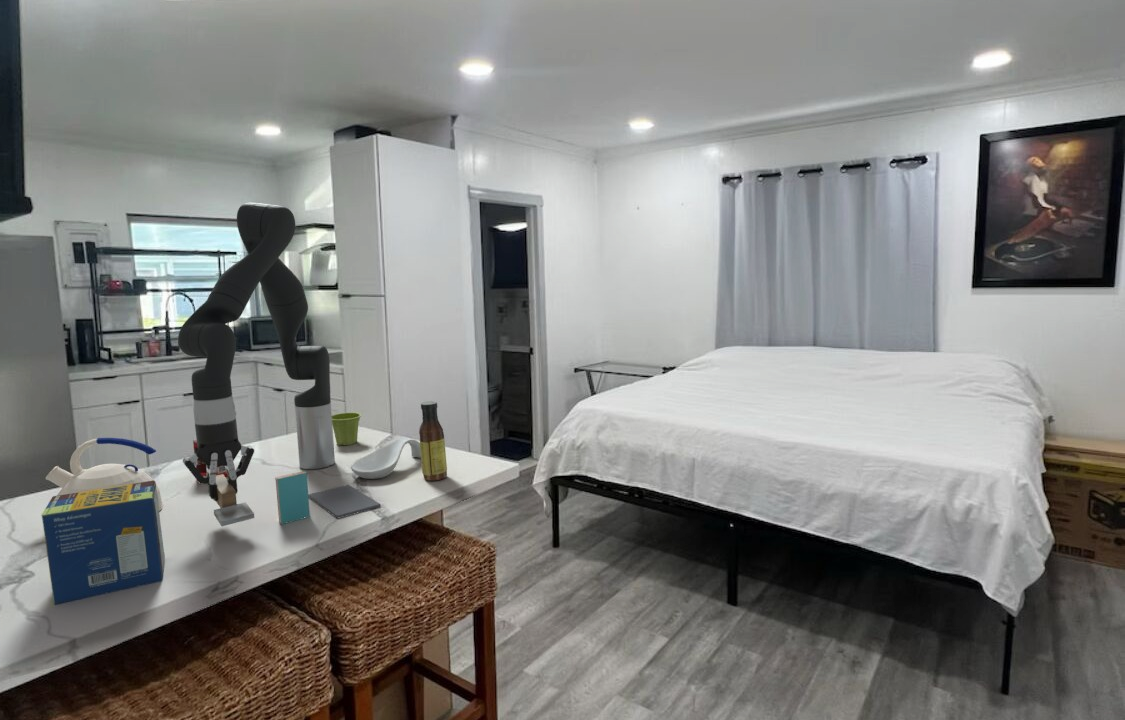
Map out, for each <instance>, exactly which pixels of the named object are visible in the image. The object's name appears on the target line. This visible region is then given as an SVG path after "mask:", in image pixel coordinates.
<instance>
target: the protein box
mask: <svg viewBox="0 0 1125 720" xmlns="http://www.w3.org/2000/svg"><path fill="white" fill-rule="evenodd" d="M156 485H157V483H156V481H155V480H154V479H153V481H147V482H141V483H135V484H128V485H122V486H116V487H110V488H103V489H96V490H90V491H84V492H78V493H72V494H65V495H58V494H57V495H58V496H57V495H54V496H53V495H52V497H51V498H50V500H49V502H48V504H47V505H46V507H45V509H44V510H43V512H42V513H41V516H40V517H41V520H42V528H43V533H44V540H45V547H46V548H45V549H46V554H47V563H48V569H49V570H48V571H49V578H50V584H51V586H50V587H51V592H52V599H53V604H54V605H59V604H63V603H68V602H72V601H78V600H81V599H86V598H92V597H96V596H100V595H104V594H105V595H106V594H109V593H113V592H117V591H121V590H122V591H123V590H127V589H131V588H132V589H133V588H137V587H141V586H145V585H149V584H154V583H158V582H162V581H163V580H164V569H165V561H166V560H165V559H166V556H165V555H166V554H165V548H164V541H163V531H162V525H161V517H160V511H159V507H158V498H157V490H156Z"/></svg>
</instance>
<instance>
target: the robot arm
mask: <svg viewBox="0 0 1125 720" xmlns="http://www.w3.org/2000/svg"><path fill="white" fill-rule="evenodd" d="M236 226H237V229H238V234H239V236H240V239H241V241H242V243H243V246H244V248H245V250H246V252H247V255H245V256H244V257H243V258H242V259H240V260H238V261H237V262H236V263H234V264H233V265H231V266H230V267H229V268H227V269H226V270H225V271H224V272H222V274H221V275H220V276H219V278H218V280H217V281H216V282H215V284H214V286H213V288H212V290H211V291H210V294H209V295H208V297H207V299H206V300H205V302H204V303H202V304H201V305H200V306H199V307H198V308H197V309H196V310H195V311H194V312H193V313H192V314H191V315H190V316H189V317H188V318H187V319H186V321H184V323H183V324H182V326H181V328H180V330H179V331H178V337H177V344H178V348H179V349H180V350H181V352H182V353H184V354H185V355H187V356H190V357H196V358H197V357H200V358H203V357H204V358H206V361H205V366H204V368H203V367H202V368H199V369H196V370H195V371H193V372H192V374H191V388H192V390H191V391H192V397H193V408H192V409H193V421H194V428H195V437H196V439H197V448H196V450H195V454H194V453H193V454H192V455H190V456H189V457H185V458H183V459H182V463H183V464H184V466H185V467H186V468H187V470H189V472H190V474H192V476H193V477H194V478H195V480H196V481H197V482H198V483H199V484H201V485H203V484H206V485H207V487H208V490H207V491H208V495H209V497H210V499H211V500H213V501H214V502H216V501H218V492H217V483H216V473H217V467H219V466H225V468H226V471H227V475H228V476H227V477H228V478H226V479H227V481H228V482H229V484H231V485H232V487H233V488H234V489H235V491H236V495H237V494H238V492H239V491H238V482H237V480H238V478H239V477H241V476H244V475H245V474H246V473H247V470H248V467H249V466H250V463H251V460H252V458H253V456H254V454H255V449H254V448H253V447H251V446H250V445H247V446H246V445H242V443H241V441H239V435H238V426H237V425H238V424H237V411H236V406H235V402H234V398H233V390H232V389H233V388H232V380H231V375H232V369H233V366H234V365H233V364H234V360H235V353H236V349H237V348H236V347H237V340H236V335H235V332H234V330H232V328H231V327H230V325H228V324H229V323H232V322H235V321H237V320H239V319H240V318H241V316H242V315H243V312H244V311H245V310H246V309H245V308H247V305H248V303H249V301H250V299H251V297H252V295H253V293H254V291H255V290H256V288H257V287H258V285H259V284H260V286H261V289H262V294H263V297H264V300H265V303H266V306H267V309H268V312H269V314H270V317H271V320H272V323H273V325H274V328H275V332H276V334H277V338H278V343H279V346H280V347H279V348H280V351H281V356H282V360H283V364H284V370H285V371H286V374H287V375H288V377H289V379H291V380H295V381H312V380H314V385H313V386H312V387H310V388H308V389H307V390H304V391H301V392H299V393H297V394H295V395H294V400H293V401H294V402H293V403H294V412H295V422H296V423H295V425H296V433H297V434H296V435H297V448H298V460H299V462H298V463H299V467H300V468H301V469H303V470H304V469H305V470H318V469H324V468H326V467H327V466H328V467H330V465H331V466H333V465H334V464H335V463H336V458H335V457H336V456H335V444H334V429H333V425H332V415H333V413H332V403H331V402H332V401H331V380H330V379H331V377H330V375H331V373H330V372H331V371H330V367H331V366H330V364H331V363H330V354H329V351H328V349H327V348H326V347H325V346H324V345H298V344H297V339H296V338H297V335H298V332H299V331H300V329H301V326H302V325H303V323H304V322H305V320H306V317H307V315H308V311H309V304H308V301H307V298H306V294H305V289H304V287H303V284H302V282H301V281H300V279H299V278H298V277H297V276H296V274H294V272H293V271H292V270H291V269H290V268H289V266H287V265H286V264H285V263H284V262H283V261H282V260H281V259H280V256H282V254H283V253H284V252H285V250H286V248H287V247H288V246H289V245H290V243H291V241H292V239H293V237H294V236H295V232H296V219H295V216H294V213H293V212H292V211H291V209H289V207H285V206H282V205H276V204H270V203H260V202H245V203H243V204H241V205H240V206H239V208H238V210H237V213H236ZM239 452H240V453H239ZM238 454H240V456H241V458H240V461H239V463H238V465H237V468H236V467H235V463H234V461H235V460H236V458H237V456H238ZM198 458H199V459H200V460H202V461H203V462H204V463H205V464H206V465H207V466H206V470H207V476H202V474H201V473H200V472H199V471H198V469H197V468H196V466H197V464H198V462H197V459H198ZM323 467H324V468H323ZM328 467H327V468H328Z"/></svg>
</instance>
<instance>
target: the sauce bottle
mask: <svg viewBox="0 0 1125 720" xmlns="http://www.w3.org/2000/svg"><path fill="white" fill-rule="evenodd" d="M420 409H421V412H422V416H421V417H422V422H421V425H420V426H419V431H418V433H419V443H420V449H421V458H420V459H421V460H420V461H421V469H422V471H421V472H422V474H423V475H422V476H423V479H424V480H425V481H430V482H436V481H437V482H438V481H441V480H444V479H445V478H447V476H448V472H447V471H448V464H447V454H446V442H445V441H446V440H445V434H444V433H445V432H444V428H443V427H442V425H441V423H440V421H439V419H438V418H439V416H438V402H437V401H432V400H431V401H424V402H421V403H420Z"/></svg>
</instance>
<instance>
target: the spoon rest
mask: <svg viewBox="0 0 1125 720" xmlns="http://www.w3.org/2000/svg"><path fill="white" fill-rule="evenodd" d="M407 444H408V445H410V450H411V457H412V456H413V457H412V458H415V457H418V458H417V459H421V449H420V441H417V440H416V439H413V438H411V439H409V438H407V437H406V438H405V437H400V438H396V439H395V440H393V441H391V442H389V443H388V444H385V445H384V446H382V447H380V448H378V449H377V450H374V451H373V452H370V453H369V454H367V455H364V456H363V457H360V458H358V459H356V460H355V461H353V463H352V464H351V465H350V470H351V471H352V473H354V474H355V476H356V475H357V476H358V477H360V478H362V479H364V480H365V479H367V480H378V478H379V479H382V477H383V478H385V476H386V477H388V476H389V475H390V474H391V473H392V472H393V471H394V470H395V468H396V466H397V465H398V463H399V459H400V457H401V454H402V452H403V449H404V447H405V445H407ZM387 475H388V476H387Z"/></svg>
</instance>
